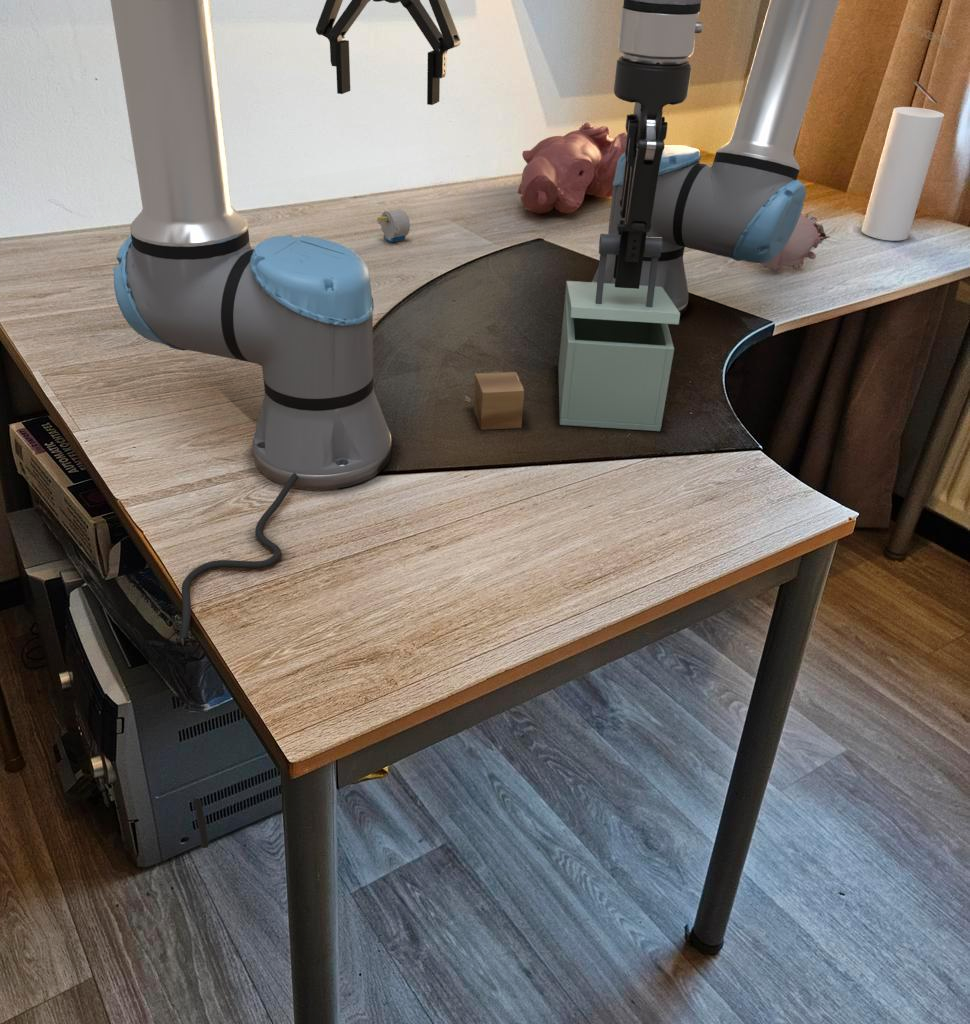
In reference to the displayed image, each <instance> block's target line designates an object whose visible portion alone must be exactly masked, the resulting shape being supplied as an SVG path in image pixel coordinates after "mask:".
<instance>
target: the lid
mask: <svg viewBox="0 0 970 1024" xmlns="http://www.w3.org/2000/svg"><path fill="white" fill-rule="evenodd" d="M620 237H621V235H614V234H608V233H600V236H599V242H598V254H599V260H598V267H599V270H598V280H597V283H593V282H592V281H576V280H566V282H565V283H566V284H565V293H566V295H567V300H568V306H569V311H570V317H571V318H583V319H599V320H615V321H631V322H647V323H663V324H668V325H680V318H681V315H680V312H679V311H678V309H677V308H676V307H675V305H674V304H673V302H672V301H671V299H670V298H669V296H668V295H667V294H666V292H665V291H664V289H663V288H662V287H658V286H655V283H656V274H657V266H658V258H659V257H660V256H661V252H662V238H661V237H647V236H646V242H645V249H644V256H643V257H652V258H651V266H650V275H649V283H648V286H641V285H639V289H635V288H618V287H615V284H609V283H604V276H605V266H606V256H607V254H609V255H618V254H619V246H620Z"/></svg>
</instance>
